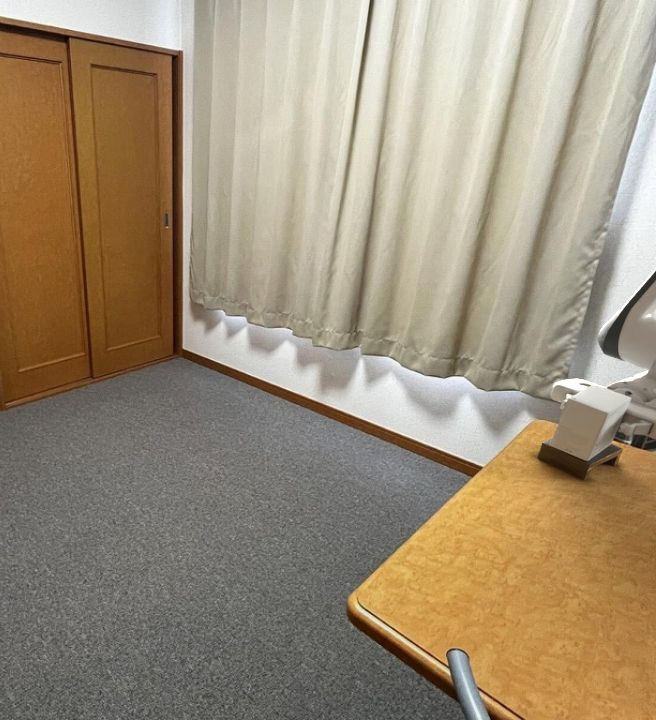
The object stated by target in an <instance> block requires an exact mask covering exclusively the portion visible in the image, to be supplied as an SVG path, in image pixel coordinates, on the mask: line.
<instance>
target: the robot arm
mask: <svg viewBox="0 0 656 720" xmlns="http://www.w3.org/2000/svg"><path fill="white" fill-rule="evenodd" d="M655 311H656V268H655V269H654V270H653V271H652V272H651V273H650V275H648V277H646V279H645V280H644V281H643V282H642V284H641V285H640V286H639V287H638V288H637V289H636V290H635V292H634V293H633V294H632V295H631V296H630V298H629V299H628V300H627V301H626V302H625V303H624V304H623V305H622V307H621V308H620V309H619V310H618V311H616V313H615V314H613V316H612V317H610V319H609V320H608V321H607V322H606V323H605V324H604V325H603V326H602V327H601V328H600V330H599V332H598V334H597V335H596V339H597V343H598V345H599V348H600V350H601V352H602V353H603V354H604V355H605V356H608V357H611V358H614V359H616V360H620V361H622V362H627V363H629V364H631V365H634V366H636V367H639V368H641V369H643V370H645V371H643V372H639V373H637V374H635V375H633V376H630V377H627V378H623V379H621V380H618V381H616V382H613V383H611V384H609V385H608V386H607V387H606V386H603V385H601V384H597V383H594V382H591V381H588V380H585V379H580V378H570V379H563V380H559V381H556V382H554V383H553V385H552V388H551V391H550V398H551V399H552V400H553V401H555V402H558V403H560V406H559V409H560V410H562V411H563V410H564V407H565V405H566V402H567V399H568V398H570V397H572V396H574V395H575V394H577V393H579V392H581V391H583V390H584V389H586V388H588V387H590V386H591V385H595V386H598V387H601V388H604V389H607V390H610V391H613V392H616V393H619V394H622V395H625V396H628V397H631V400H630V403H629V405H628V407H627V410H626V412H625V414H624V416H623V419H622V421H621V423H620V425H619V428H618V430H617V432H618V433H619V434H623V435H625V436H632V435H636V436H637V435H639V436H645V437H648V438H651V439H653V440H656V316H655V314H654V312H655Z"/></svg>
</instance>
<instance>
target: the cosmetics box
mask: <svg viewBox="0 0 656 720" xmlns="http://www.w3.org/2000/svg"><path fill="white" fill-rule="evenodd" d="M630 400H631V397H628V396H625V395H622V394H619V393H616V392H613V391H610V390H607V389H604V388H601V387H598V386H595V385H591V386H590V387H588V388H586V389H584V390H583V391H581V392H579V393H577V394H575V395H574V396H572V397H570V398H568V399H567V402H566V405H565V407H564V410H562V413H561V416H560V418H559V420H558V423H557V426H556V428H555V430H554V432H553V436H552V438H551V439H552V440H551V443H550V446H552V447H555V448H557V449H559V450H562V451H564V452H566V453H569V454H571V455H573V456H576V457H578V458H580V459H583V460H585V461H589V460H590V459H591V458H593V457H594V456H596V455H597V454H598V453H600V452H601V451H602V450H604V449H605V448H607V447H608V446H609V445H611V444H613V442H614V439H615V437H616V434H617V432H618V430H619V429H620V423H621V421H622V419H623V416H624V414H625V412H626V410H627V407H628V405H629V403H630Z"/></svg>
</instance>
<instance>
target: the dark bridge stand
mask: <svg viewBox="0 0 656 720" xmlns="http://www.w3.org/2000/svg"><path fill="white" fill-rule="evenodd" d="M551 440H552V438H550V439H548V440H545V441H543V442H541V445H540V448H539V452H538V455H537V458H538V459H540V460H541V461H543V462H546V463H547V464H549V465H552V466H554V467H555V468H558V469H559V470H562V471H564V472H566V473H568V474H570V475H572V476H574V477H576V478H577V479H580V480H581V481H586V480H587V479H588V478H589V475H590V473H591V471H592V469H593V468H595V467H597V466H599V465H602V464H604V463H606V464H609V465H610V466H614V467H615V466H616V465H618V463H619V460H620V459H621V456H622V454H623V451H624V448H622V447H620V446H618V445H615V444H613V443H611V445H609V446H608V447H607V448H605V449H604V450H602V451H601V452H600V453H598V454H597V455H596V456H594V457H593V458H591V459H590V460H589V461H585V460H583V459H580V458H578V457H576V456H573V455H571V454H569V453H566V452H564V451H562V450H559V449H557V448H555V447H552V446H550V443H551Z"/></svg>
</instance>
